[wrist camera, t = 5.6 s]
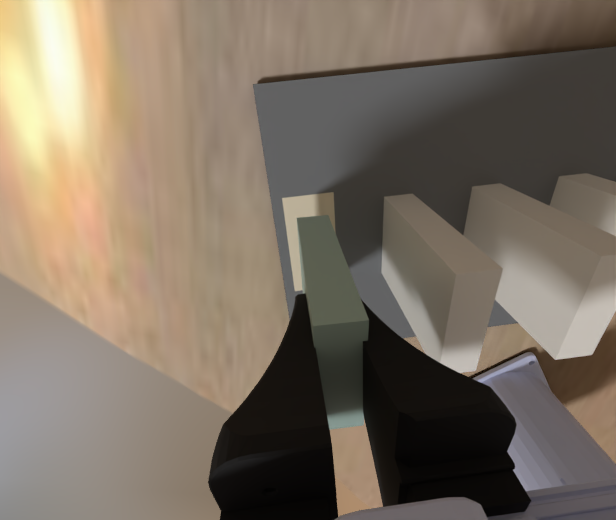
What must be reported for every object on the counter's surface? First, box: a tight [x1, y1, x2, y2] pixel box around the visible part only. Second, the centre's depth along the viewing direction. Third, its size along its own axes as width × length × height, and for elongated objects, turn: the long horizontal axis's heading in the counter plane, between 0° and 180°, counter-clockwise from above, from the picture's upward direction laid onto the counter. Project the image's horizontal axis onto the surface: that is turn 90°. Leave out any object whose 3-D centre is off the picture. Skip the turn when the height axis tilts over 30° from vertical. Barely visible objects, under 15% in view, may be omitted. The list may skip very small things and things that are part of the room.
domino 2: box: [381, 194, 503, 373], centre depth 15 cm, size 2×5×8 cm, turn 6°
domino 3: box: [463, 183, 616, 360], centre depth 15 cm, size 2×5×8 cm, turn 6°
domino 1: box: [297, 215, 369, 429], centre depth 13 cm, size 2×5×8 cm, turn 4°
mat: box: [253, 47, 616, 338], centre depth 19 cm, size 24×17×1 cm
